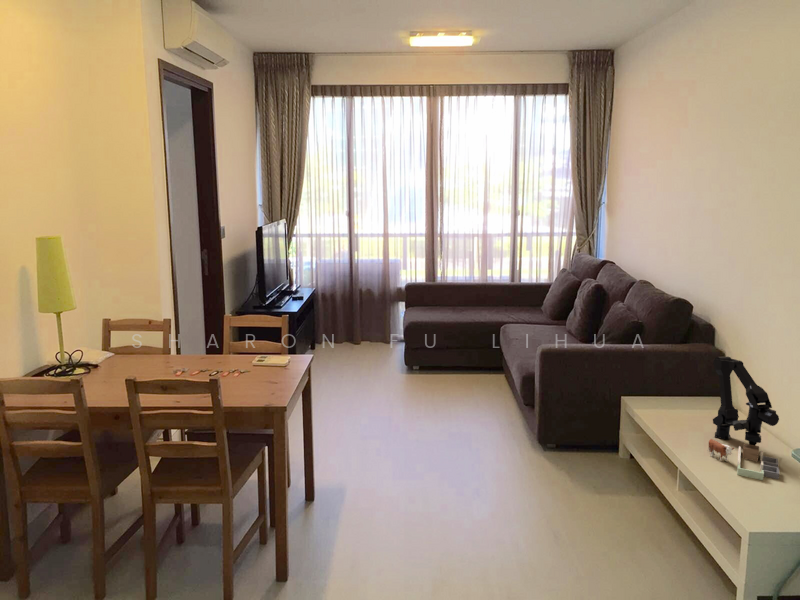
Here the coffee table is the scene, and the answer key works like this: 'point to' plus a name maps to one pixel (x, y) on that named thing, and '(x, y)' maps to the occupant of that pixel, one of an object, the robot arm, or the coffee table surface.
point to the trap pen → (767, 468)
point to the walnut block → (750, 452)
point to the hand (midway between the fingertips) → (750, 449)
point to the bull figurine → (719, 449)
